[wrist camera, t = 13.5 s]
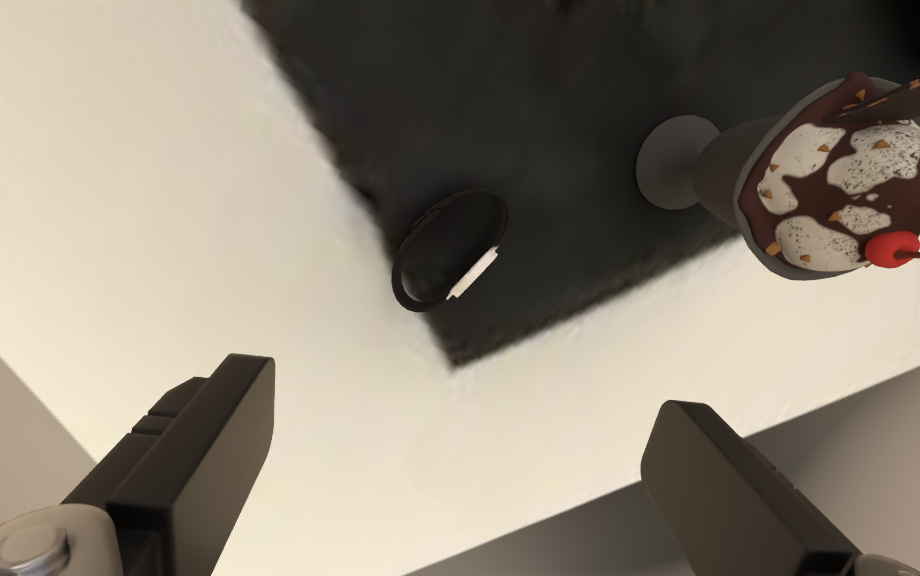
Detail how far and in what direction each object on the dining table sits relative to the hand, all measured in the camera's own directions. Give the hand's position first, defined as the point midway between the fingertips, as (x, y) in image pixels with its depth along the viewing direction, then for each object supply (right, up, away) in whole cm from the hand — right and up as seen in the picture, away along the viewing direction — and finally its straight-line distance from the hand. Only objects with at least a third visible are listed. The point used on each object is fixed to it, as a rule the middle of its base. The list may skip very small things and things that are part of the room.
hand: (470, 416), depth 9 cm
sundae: (+12, +9, +15) cm, 22 cm away
